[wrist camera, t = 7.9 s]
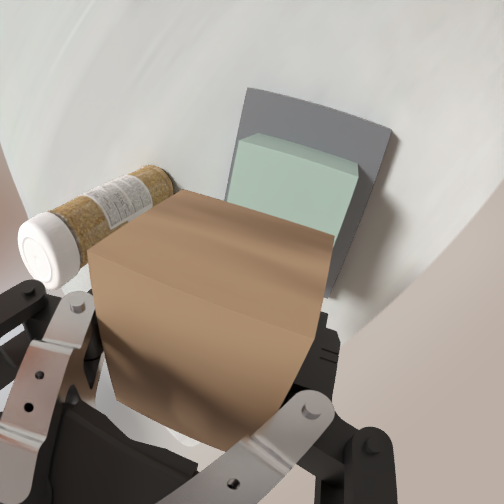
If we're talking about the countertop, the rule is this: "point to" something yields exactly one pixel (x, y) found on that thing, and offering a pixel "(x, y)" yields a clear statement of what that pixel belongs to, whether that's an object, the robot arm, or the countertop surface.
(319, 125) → the build plate
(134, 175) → the sprinkles bottle
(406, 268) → the countertop surface
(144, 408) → the walnut brick
